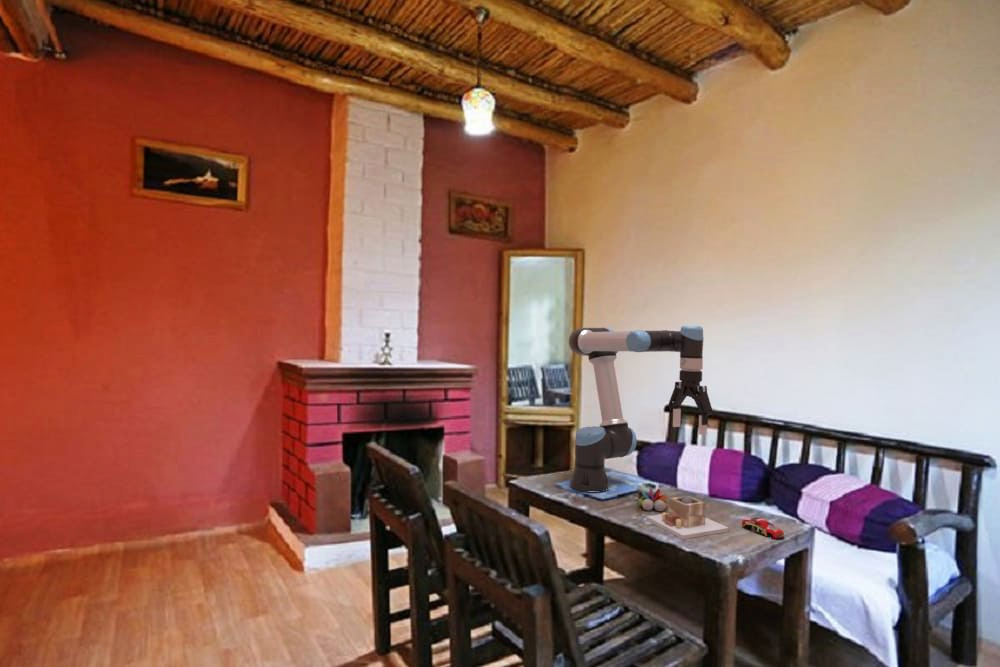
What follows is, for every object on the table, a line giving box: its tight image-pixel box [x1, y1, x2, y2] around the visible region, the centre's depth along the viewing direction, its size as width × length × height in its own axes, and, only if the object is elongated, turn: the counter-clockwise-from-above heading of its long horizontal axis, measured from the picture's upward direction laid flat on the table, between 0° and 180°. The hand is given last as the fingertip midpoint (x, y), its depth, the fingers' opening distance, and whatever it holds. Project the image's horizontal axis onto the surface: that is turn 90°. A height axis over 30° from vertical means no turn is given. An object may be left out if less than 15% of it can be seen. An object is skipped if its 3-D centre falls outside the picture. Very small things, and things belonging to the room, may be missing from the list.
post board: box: [645, 495, 730, 540], centre depth 183 cm, size 18×18×9 cm
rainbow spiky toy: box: [638, 487, 669, 513], centre depth 200 cm, size 8×10×7 cm
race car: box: [741, 517, 785, 540], centre depth 178 cm, size 13×5×4 cm, turn 28°
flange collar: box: [665, 495, 707, 528], centre depth 182 cm, size 12×8×7 cm
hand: (689, 430), depth 199 cm, fingers open, 13 cm apart
